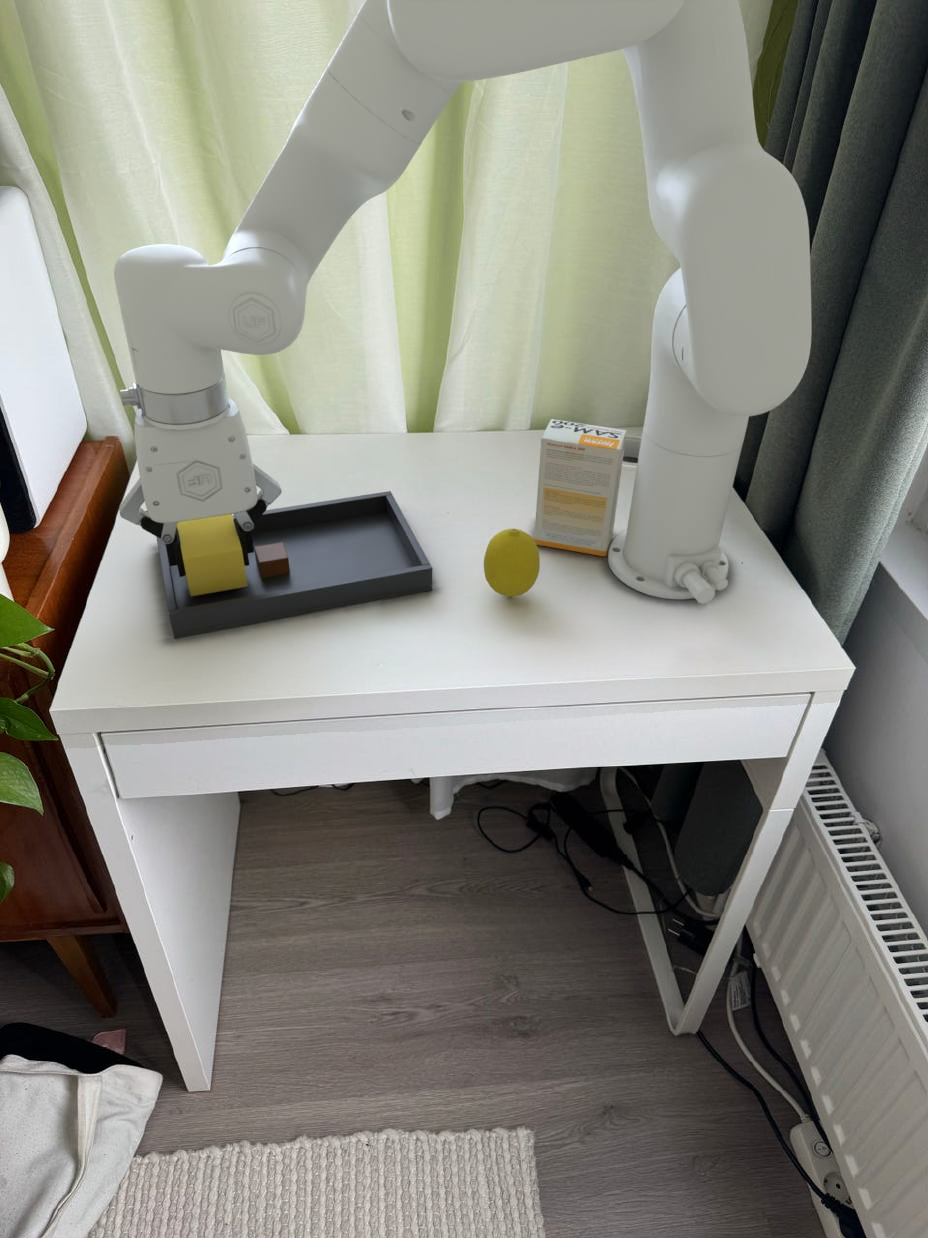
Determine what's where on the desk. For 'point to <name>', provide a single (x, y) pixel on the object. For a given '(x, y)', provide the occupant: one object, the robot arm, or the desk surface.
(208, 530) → the sponge
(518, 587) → the lemon
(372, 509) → the pan
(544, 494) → the supplement box
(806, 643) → the desk surface
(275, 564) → the brown block
